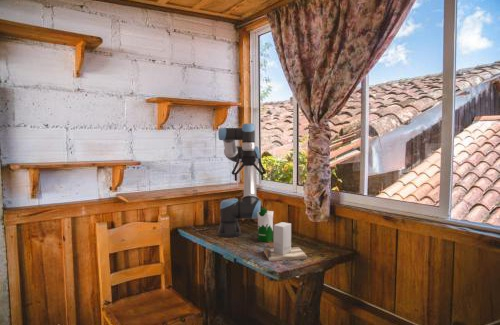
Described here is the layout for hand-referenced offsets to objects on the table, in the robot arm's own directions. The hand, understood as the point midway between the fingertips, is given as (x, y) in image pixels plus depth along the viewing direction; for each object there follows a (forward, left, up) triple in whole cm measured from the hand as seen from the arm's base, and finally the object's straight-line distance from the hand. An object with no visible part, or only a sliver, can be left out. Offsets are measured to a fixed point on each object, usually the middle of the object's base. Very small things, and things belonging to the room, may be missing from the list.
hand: (248, 186), depth 212 cm
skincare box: (+24, +15, -33) cm, 44 cm away
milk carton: (-7, +11, -35) cm, 37 cm away
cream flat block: (+23, +16, -35) cm, 45 cm away
